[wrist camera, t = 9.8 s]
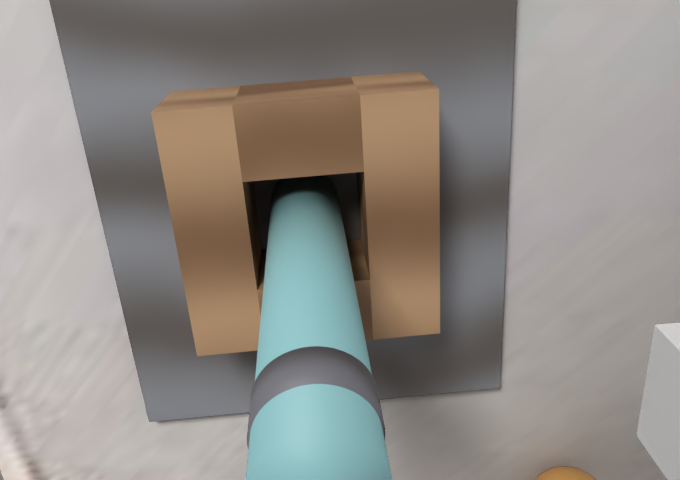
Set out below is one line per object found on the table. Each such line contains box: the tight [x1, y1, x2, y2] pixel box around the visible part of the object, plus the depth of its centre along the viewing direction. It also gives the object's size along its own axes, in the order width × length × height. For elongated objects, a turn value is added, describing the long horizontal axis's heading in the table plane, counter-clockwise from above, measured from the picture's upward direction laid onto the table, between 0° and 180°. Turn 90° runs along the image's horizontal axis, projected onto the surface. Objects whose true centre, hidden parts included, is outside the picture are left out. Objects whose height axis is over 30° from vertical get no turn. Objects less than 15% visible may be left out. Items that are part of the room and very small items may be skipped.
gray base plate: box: [49, 0, 516, 422], centre depth 23 cm, size 20×16×4 cm
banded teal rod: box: [246, 175, 392, 480], centre depth 18 cm, size 3×3×15 cm
